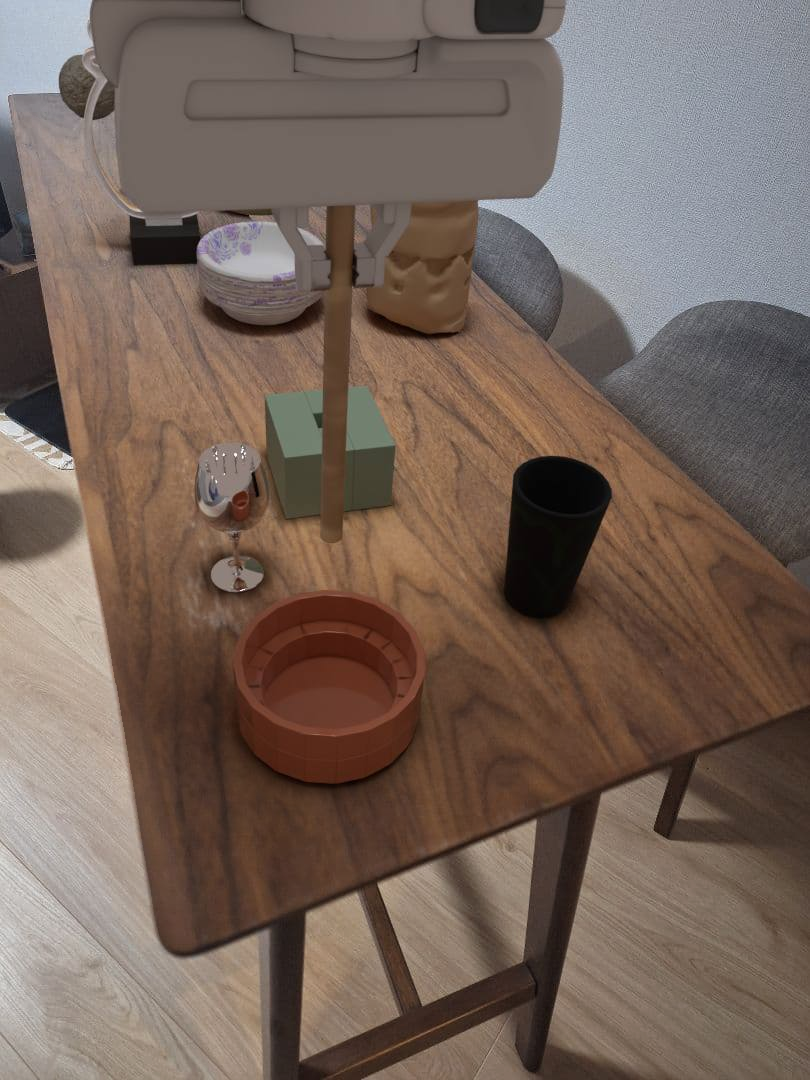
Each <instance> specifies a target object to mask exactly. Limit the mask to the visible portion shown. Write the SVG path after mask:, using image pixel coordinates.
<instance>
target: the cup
mask: <svg viewBox="0 0 810 1080" xmlns="http://www.w3.org/2000/svg"><path fill="white" fill-rule="evenodd" d="M511 486H512V487H511V488H512V489H511V498H510V499H511V500H510V509H509V510H510V511H509V513H510V514H509V522H508V524H509V525H508V535H507V549H506V561H505V562H506V563H505V574H504V589H503V594H504V598H505V600H506V602H507V603H508V604H509V606H510V607H511V608H512V609H514V610H515V611H516V612H518V613H520V614H522V615H524V616H527V617H530V618H535V619H548V618H553V617H556V616H559V615H560V614H562V613H563V612H564V611H565V610H566V609H567V608H568V607H567V606H568V605H569V602H570V600H571V597H572V594H573V592H574V590H575V587H576V585H577V583H578V580H579V578H580V575H581V573H582V570H583V568H584V566H585V563H586V561H587V558H588V556H589V554H590V551H591V549H592V547H593V544H594V542H595V539H596V537H597V534H598V532H599V530H600V527H601V525H602V522H603V520H604V517H605V515H606V513H607V510H608V508H609V505H610V503H611V501H612V498H613V489H612V486H611V485H610V482H609V481H608V480H607V478H606V477H605V475H603V473H601V472H600V471H599V470H598V469H597V468H595V467H594V466H592V465H591V464H588V463H586V462H584V461H581V460H579V459H576V458H572V457H567V456H562V455H542V456H537V457H534V458H531V459H529V460H527V461H525V462H522V463H521V464H520V465H519V466H518V467H516V469H515V471H514V473H513V475H512V485H511Z"/></svg>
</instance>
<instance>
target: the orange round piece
mask: <svg viewBox="0 0 810 1080" xmlns="http://www.w3.org/2000/svg"><path fill="white" fill-rule="evenodd" d="M232 667H233V668H232V670H233V671H232V672H233V683H234V694H235V695H234V696H235V708H236V715H237V719H238V726H239V730H240V731H239V732H240V734H241V737H243V739H244V741H245V742H246V743H247V746H249V748H250V750H251V751H252V753H253V754H254V755H255V756H256V757H257V758H259V759H260V760H261V761H262V762H264V763H265V764H266V765H267V766H269V767H270V768H271V769H273V770H274V771H276V772H277V773H280V774H283V775H285V776H288V777H291V778H294V779H296V780H300V781H303V782H306V783H319V784H341V783H346V782H350V781H355V780H361V779H364V778H367V777H369V776H371V775H372V774H374V773H376V772H378V771H380V770H382V769H383V768H385V767H387V766H389V765H391V764H392V763H393V762H394V761H395V760H396V759H397V758H398V757H399V756H400V755H401V753H403V752H404V751H405V750H406V748H407V747H408V746H409V745H410V743H411V742H412V741H411V740H412V739H413V737H414V734H415V731H416V729H417V727H418V725H419V720H420V712H421V705H422V697H423V692H424V691H423V690H424V681H425V675H426V653H425V649H424V646H423V644H422V642H421V639H420V637H419V634H418V632H417V631H416V629H415V628H414V627H413V626H412V625H411V624H410V622H409V621H408V620H407V619H406V618H405V617H404V615H402V613H400V612H399V611H397V610H395V609H394V608H393V607H391V606H389V605H387V604H386V603H384V602H382V601H381V600H379V599H377V598H374V597H371V596H367V595H364V594H362V593H357V592H354V591H348V590H335V589H334V590H332V589H321V590H313V591H306V592H300V593H296V594H293V595H290V596H288V597H286V598H283V599H281V600H279V601H276V602H274V603H272V604H270V605H269V606H267V607H266V608H265V609H264V610H262V611H261V612H260V613H258V614H257V615H256V616H254V617H253V618H252V619H251V620H250V621H249V623H248V624H247V625H246V627H245V629H244V630H243V632H242V633H241V634H240V636H239V637H238V639H237V642H236V647H235V651H234V655H233V660H232Z"/></svg>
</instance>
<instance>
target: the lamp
mask: <svg viewBox="0 0 810 1080" xmlns="http://www.w3.org/2000/svg"><path fill="white" fill-rule="evenodd" d="M86 30H87V35H88V37H89V39H90V40H91V41H92V42H93V39H92V31H91V24H90V18H89V19H88V20H87V25H86ZM82 55H83V57H82V63H83V66H84V67H85V69H86V70H87V71H88V72H89V73H90V74H92V75H93V76H94V77H95V79H96V80H95V81H94V83H93V86H92V88H91V91H90V93H89V96H88V100H87V104H86V108H85V114H84V118H83V139H84V140H83V141H84V148H85V152H86V155H87V159H88V162H89V165H90V168H91V170H92V173H93V174H94V176H95V178H96V180H97V181H98V183H99V185H100V187H101V188H102V189H103V191H104V192H105V193H106V194H107V196H108V198H110V200H111V201H112V203H114V205H115V206H116V207H117V208H118V209H120V210H121V211H122V212H123V213H125V214H126V215H128V217H129V240H130V241H129V242H130V247H131V256H132V262H133V263H132V264H133V266H147V265H148V266H149V265H153V266H154V265H179V264H182V265H183V264H197V246H198V244H199V242H200V240H201V239H202V238H201V232H200V231H201V230H200V225H199V219H198V214H199V213H200V212H201V211H198V212H174V213H144V212H142V211H141V210H140V209H138V208H137V207H136V206H135V205H132V204H131V203H129V201H127V200H125V198H124V197H123V196H122V195H121V194H120V193H119V192H118V190H117V189H116V188H115V187H114V185H113V184H112V182H111V180H109V178H108V176H107V174H106V173H105V171H104V169H103V167H102V165H101V162H100V160H99V158H98V155H97V154H98V153H97V151H96V147H95V143H94V135H93V120H92V119H93V113H94V109H95V105H96V102H97V100H98V97H99V95H100V92H101V91H102V89H103V87H104V86H105V84H106V83H107V81H108V80H107V79H106V78H105V76H104V75H103V73H102V72H101V70H100V68H99V66H98V64H96V63H94V62H93V61H92V59H94V58H95V54H94V46H91V47H87V49H86V50H84V53H83V54H82Z"/></svg>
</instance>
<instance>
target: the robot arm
mask: <svg viewBox="0 0 810 1080" xmlns="http://www.w3.org/2000/svg"><path fill="white" fill-rule="evenodd" d="M566 6H567V0H241V1H240V0H91V4H90V9H89V19H90V24H91V31H92V39H93V41H92V47H94V54H95V58H96V62H97V64H98V66H99V68H100V70H101V72H102V73H103V75H104V76H105V78H106V79H107V80H108V81H109V82H110V83H111V84H112V85H113V86H114V87H115V101H114V103H115V110H114V135H115V151H116V160H117V161H116V162H117V170H118V177H119V178H118V179H119V184H120V189H121V191H122V193H123V194H124V196H125V197H126V198H127V199H128V200H129V201H130V202H131V203H132V204H133V206H134V207H137V208H138V209H140V210H141V211H142V212H144V213H174V212H198V211H200V212H221V211H223V212H224V211H229V210H247V209H271V210H272V214H273V215H272V216H273V218H274V222H275V223H277V225H278V227H279V229H280V231H281V233H282V234H283V236H284V237H285V239H286V241H287V242H288V244H289V246H290V247H291V249H292V250H293V252H294V254H295V278H296V283H297V285H298V288H299V290H300V292H310V291H311V292H313V291H324V290H330V279H329V277H328V276H329V274H330V273H331V259H330V257H329V255H328V254H326V250H325V249H326V247H325V245H324V244H323V245H324V246H323V245H307V244H306V242H305V240H304V239H303V237H302V235H301V233H300V232H299V230H298V228H300V229H307V228H308V227H309V221H310V220H309V216H310V215H309V214H310V213H309V211H310V208H320V207H326V206H347V205H356V206H370V205H372V206H373V207H374V209H375V211H376V212H377V214H378V215H379V216H378V218H377V219H376V221H375V223H374V225H373V226H372V225H371V228H370V230H369V231H368V234H367V235H366V237H365V239H364V240H363V242H354V261H353V286H352V288H353V289H366V288H372V287H382V286H383V284H384V272H385V257H386V256H389V254H390V253H391V251H392V250H393V248H394V247H395V245H396V244H397V242H398V241H399V239H400V238H401V236H402V235H403V233H404V232H405V230H406V229H407V227H408V226H409V225H410V218H411V206H412V203H421V202H446V201H470V200H479V201H491V200H493V201H495V200H519V199H532V198H534V197H536V196H537V194H539V192H540V191H541V190H542V189H543V188H544V187H545V186H546V184H547V183H548V182H549V180H550V179H551V178H552V176H553V173H554V169H555V166H556V161H557V155H558V148H559V141H560V134H561V126H562V117H563V116H562V115H563V104H564V103H563V102H564V88H565V87H564V85H565V84H564V83H565V80H564V69H563V63H562V59H561V57H560V54H559V52H558V51H557V49H556V47H555V46H554V45H553V43H551V42H550V41H548V40H547V39H548V38H551V37H553V36H554V35H556V34H557V33H558V31H559V30H560V29H561V26H562V24H563V22H564V18H565V14H566ZM241 8H242V9H241ZM198 213H199V212H198ZM324 247H325V248H324ZM324 292H325V291H324Z"/></svg>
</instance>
